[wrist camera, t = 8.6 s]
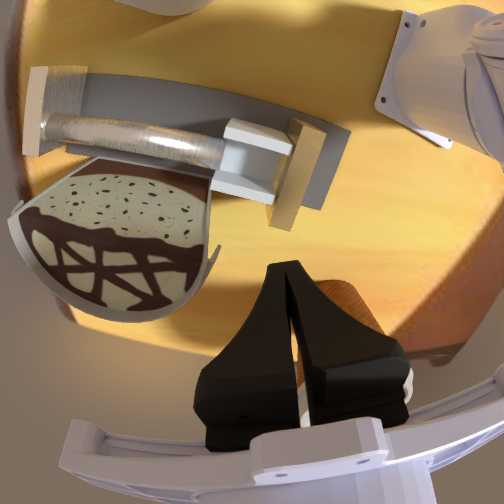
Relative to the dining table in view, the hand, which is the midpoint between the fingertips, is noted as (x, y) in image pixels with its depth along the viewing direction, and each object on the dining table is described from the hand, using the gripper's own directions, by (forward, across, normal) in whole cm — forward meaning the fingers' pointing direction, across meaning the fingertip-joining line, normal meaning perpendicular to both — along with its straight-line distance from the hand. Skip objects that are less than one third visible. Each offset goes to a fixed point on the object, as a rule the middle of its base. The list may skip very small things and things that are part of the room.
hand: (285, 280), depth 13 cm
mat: (+10, +4, -6) cm, 13 cm away
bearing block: (+10, +1, -4) cm, 11 cm away
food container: (+10, +9, -2) cm, 14 cm away
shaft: (+9, +8, -8) cm, 15 cm away
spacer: (+7, -1, -3) cm, 8 cm away
